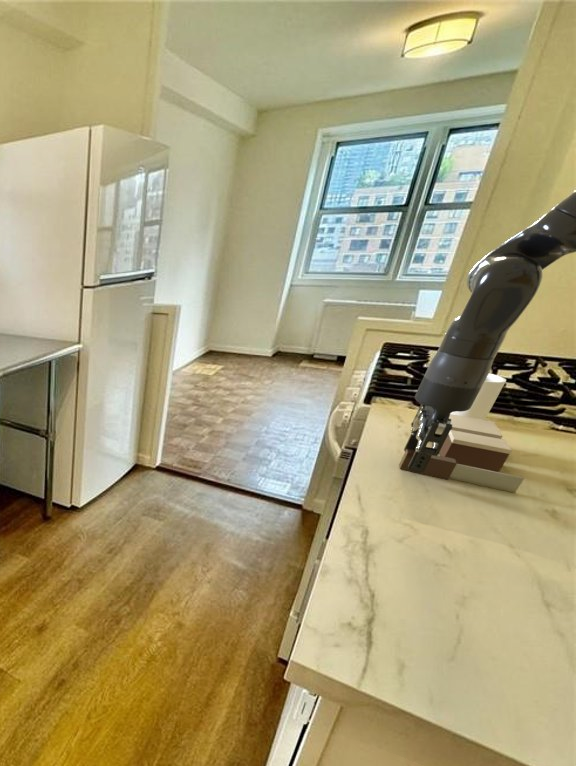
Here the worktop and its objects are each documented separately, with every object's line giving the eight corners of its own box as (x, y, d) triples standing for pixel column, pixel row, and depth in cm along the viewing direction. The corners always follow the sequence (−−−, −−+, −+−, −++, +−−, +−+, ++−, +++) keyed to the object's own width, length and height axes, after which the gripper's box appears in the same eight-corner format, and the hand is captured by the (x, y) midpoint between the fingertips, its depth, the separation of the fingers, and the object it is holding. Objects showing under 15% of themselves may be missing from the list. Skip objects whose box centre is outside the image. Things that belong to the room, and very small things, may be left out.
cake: (481, 443, 101) (493, 421, 98) (489, 458, 95) (502, 435, 92) (432, 433, 105) (442, 412, 102) (437, 448, 99) (448, 425, 96)
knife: (513, 490, 85) (524, 473, 83) (516, 495, 83) (527, 478, 82) (398, 464, 93) (406, 448, 91) (399, 469, 91) (407, 453, 90)
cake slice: (492, 462, 93) (505, 439, 91) (498, 473, 90) (512, 450, 87) (438, 451, 97) (449, 429, 95) (441, 462, 94) (453, 439, 91)
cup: (418, 403, 120) (436, 364, 115) (484, 417, 112) (506, 375, 107) (413, 412, 114) (432, 372, 110) (482, 427, 107) (505, 385, 102)
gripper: (492, 396, 76) (444, 484, 83) (474, 371, 86) (433, 451, 94) (430, 386, 79) (390, 471, 87) (420, 364, 90) (385, 441, 98)
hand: (412, 461), depth 91 cm, fingers open, 7 cm apart
